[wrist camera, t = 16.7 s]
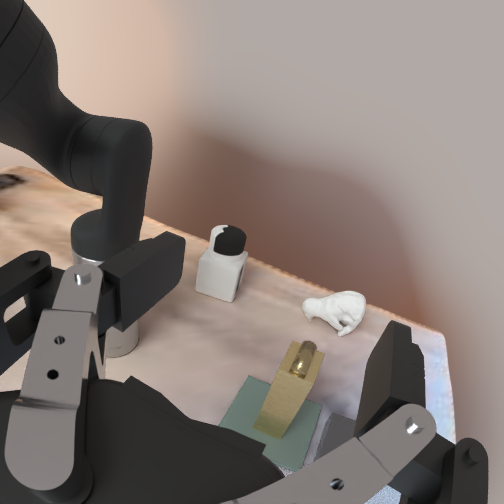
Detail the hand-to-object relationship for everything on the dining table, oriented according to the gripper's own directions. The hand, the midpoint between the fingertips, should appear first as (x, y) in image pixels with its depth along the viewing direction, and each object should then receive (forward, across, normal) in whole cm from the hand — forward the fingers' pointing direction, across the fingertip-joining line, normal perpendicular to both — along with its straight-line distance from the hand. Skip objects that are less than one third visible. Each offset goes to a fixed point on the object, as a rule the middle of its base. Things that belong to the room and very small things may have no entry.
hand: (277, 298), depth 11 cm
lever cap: (+16, -3, +31) cm, 35 cm away
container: (+41, +18, +32) cm, 55 cm away
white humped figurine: (+43, -5, +32) cm, 54 cm away
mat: (+16, -2, +32) cm, 36 cm away
